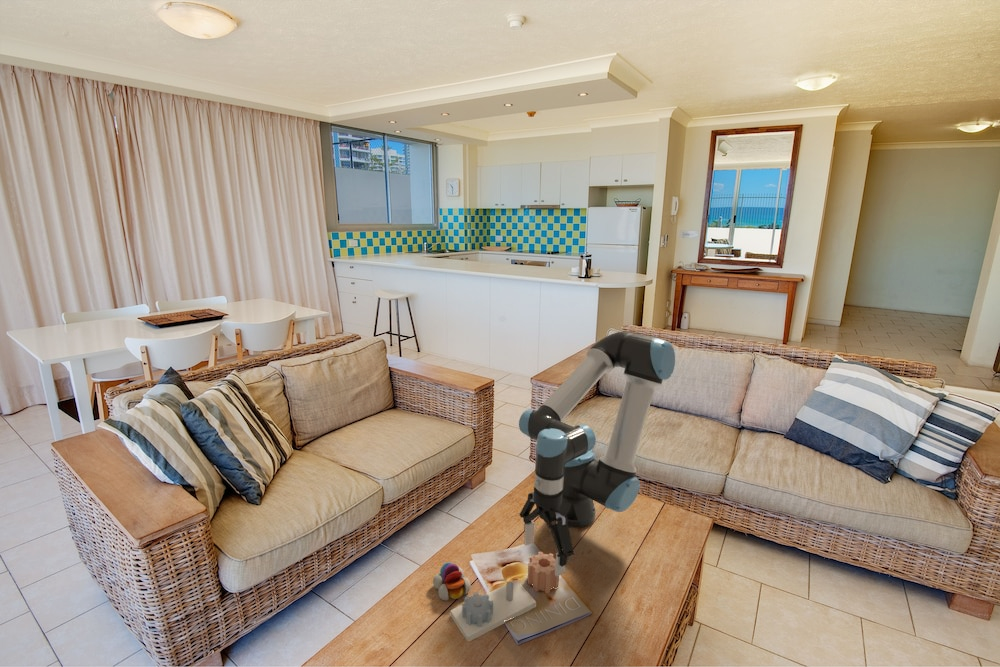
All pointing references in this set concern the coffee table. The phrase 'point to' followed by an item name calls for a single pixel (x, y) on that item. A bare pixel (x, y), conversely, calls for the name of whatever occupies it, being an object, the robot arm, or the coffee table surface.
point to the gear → (542, 572)
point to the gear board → (491, 609)
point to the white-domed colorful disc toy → (451, 582)
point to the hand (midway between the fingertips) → (543, 558)
